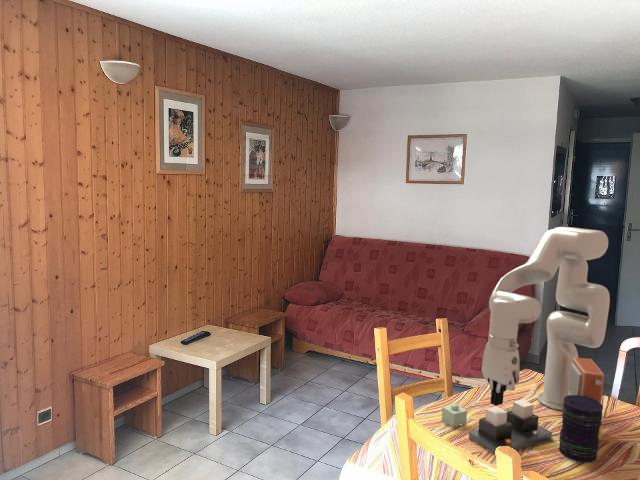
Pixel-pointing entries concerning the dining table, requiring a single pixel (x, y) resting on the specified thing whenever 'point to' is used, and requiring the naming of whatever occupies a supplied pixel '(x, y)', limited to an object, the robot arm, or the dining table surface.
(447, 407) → the cap
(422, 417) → the dining table surface
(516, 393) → the dining table surface
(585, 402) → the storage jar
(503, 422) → the tagged breaker button
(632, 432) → the dining table surface
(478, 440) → the breaker board
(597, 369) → the orange fan heater
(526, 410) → the breaker button
